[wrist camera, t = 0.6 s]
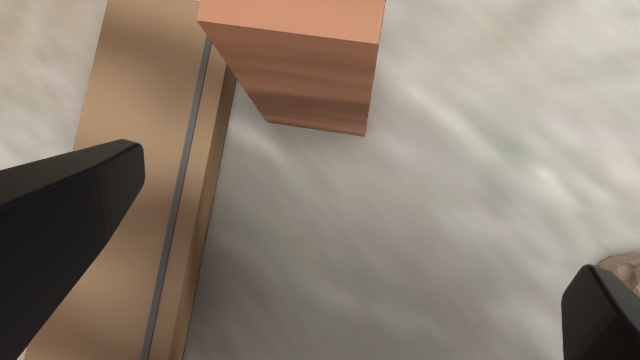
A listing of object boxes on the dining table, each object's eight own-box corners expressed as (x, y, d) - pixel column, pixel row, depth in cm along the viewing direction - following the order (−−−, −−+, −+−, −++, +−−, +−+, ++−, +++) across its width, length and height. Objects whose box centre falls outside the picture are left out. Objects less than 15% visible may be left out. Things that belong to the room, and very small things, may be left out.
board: (162, 464, 22) (141, 488, 19) (33, 436, 22) (0, 457, 20) (247, 24, 24) (237, 4, 22) (129, 9, 25) (109, -12, 23)
